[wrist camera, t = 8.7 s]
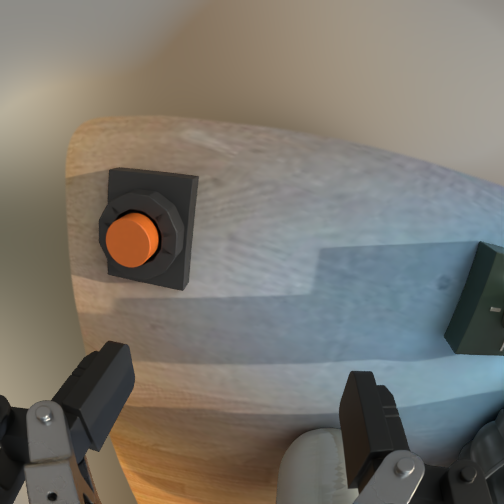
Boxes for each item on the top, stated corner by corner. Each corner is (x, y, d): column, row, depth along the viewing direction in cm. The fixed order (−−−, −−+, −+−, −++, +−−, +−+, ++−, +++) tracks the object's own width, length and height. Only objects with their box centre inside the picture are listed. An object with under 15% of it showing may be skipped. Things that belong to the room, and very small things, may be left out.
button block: (119, 167, 25) (97, 172, 21) (198, 176, 24) (185, 182, 21) (116, 267, 28) (97, 283, 24) (188, 282, 27) (176, 301, 24)
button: (116, 209, 22) (105, 215, 21) (160, 216, 22) (151, 222, 21) (116, 254, 24) (105, 262, 22) (158, 263, 24) (149, 272, 22)
